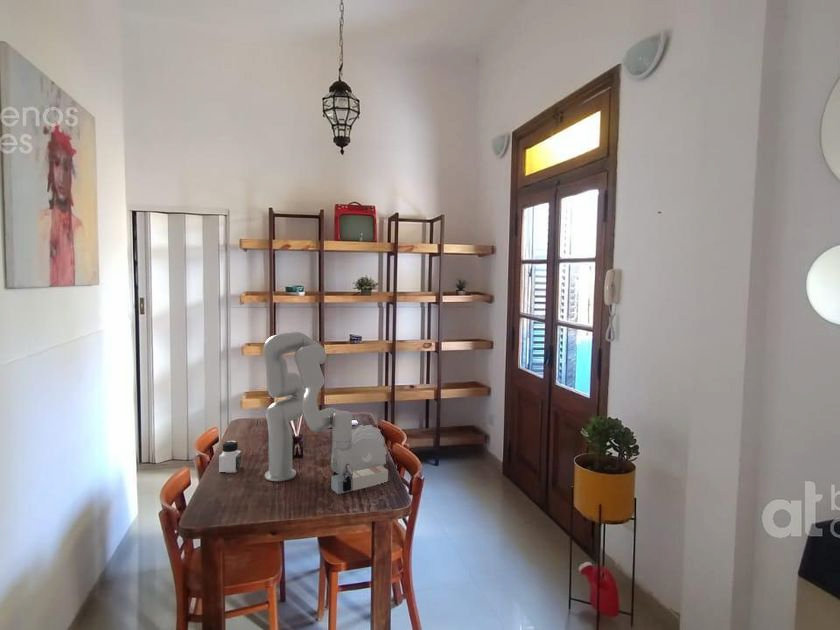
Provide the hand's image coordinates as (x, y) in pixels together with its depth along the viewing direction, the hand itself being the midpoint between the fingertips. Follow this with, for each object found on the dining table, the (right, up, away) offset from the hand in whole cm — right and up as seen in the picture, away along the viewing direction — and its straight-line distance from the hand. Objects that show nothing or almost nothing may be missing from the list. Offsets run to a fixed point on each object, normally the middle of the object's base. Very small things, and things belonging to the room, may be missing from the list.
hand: (341, 486), depth 193 cm
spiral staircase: (+7, 0, +24) cm, 25 cm away
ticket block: (+9, -1, +6) cm, 11 cm away
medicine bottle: (-51, +1, +19) cm, 54 cm away
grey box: (0, -1, 0) cm, 1 cm away
